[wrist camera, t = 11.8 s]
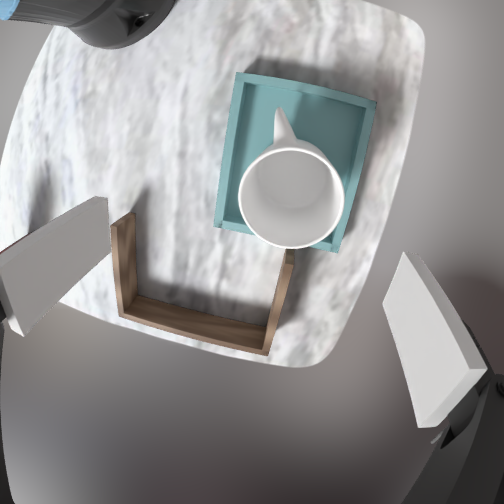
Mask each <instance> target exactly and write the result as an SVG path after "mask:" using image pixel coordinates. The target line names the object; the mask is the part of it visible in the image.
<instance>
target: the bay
mask: <svg viewBox="0 0 504 504" xmlns="http://www.w3.org/2000/svg"><path fill="white" fill-rule="evenodd" d="M110 228H111V247H112V260H113V272H114V282H115V291H116V299H117V306H118V314H119V317H122V318H125V319H128V320H131V321H135V322H138V323H141V324H144V325H147V326H150V327H154V328H157V329H160V330H164V331H167V332H170V333H174V334H177V335H181V336H185V337H188V338H192V339H196V340H200V341H203V342H207V343H211V344H215V345H219V346H224V347H228V348H232V349H236V350H241V351H245V352H250V353H255V354H259V355H264V356H268V354H269V351H270V347H271V344H272V341H273V337H274V334H275V330H276V327H277V324H278V320H279V317H280V313H281V310H282V306H283V303H284V299H285V296H286V292H287V288H288V285H289V281H290V277H291V274H292V270H293V266H294V249H288V248H286V250H285V254H284V258H283V262H282V266H281V270H280V274H279V278H278V282H277V286H276V290H275V294H274V298H273V302H272V306H271V310H270V314H269V318H268V322H267V325H266V327H263V326H258V325H254V324H249V323H245V322H240V321H236V320H231V319H227V318H223V317H219V316H214V315H210V314H206V313H202V312H198V311H194V310H190V309H187V308H183V307H179V306H175V305H171V304H168V303H164V302H161V301H157V300H153V299H150V298H146V297H143V296H140V295H138V289H137V271H136V241H135V213H130V212H129V213H128V214H126V215H125V216H123V217H122V218H120V219H119V220H117V221H116V222H115V223H113V224H112V225H110Z"/></svg>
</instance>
